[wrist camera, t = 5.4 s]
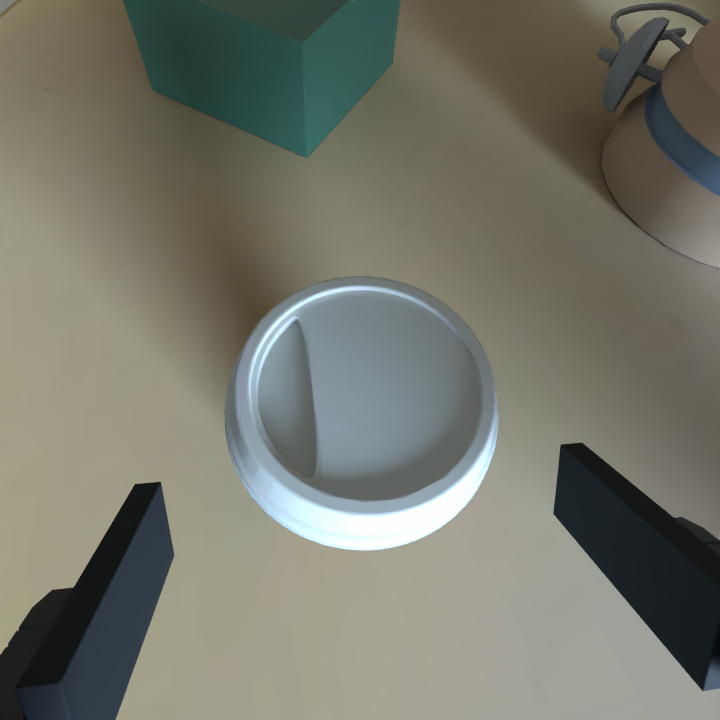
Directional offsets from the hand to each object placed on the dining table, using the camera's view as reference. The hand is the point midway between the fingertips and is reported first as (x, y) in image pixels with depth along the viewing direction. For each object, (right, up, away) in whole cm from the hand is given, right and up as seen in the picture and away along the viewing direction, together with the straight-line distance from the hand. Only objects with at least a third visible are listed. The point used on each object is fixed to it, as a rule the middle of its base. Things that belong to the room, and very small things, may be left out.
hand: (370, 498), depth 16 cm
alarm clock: (+25, +20, +22) cm, 39 cm away
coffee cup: (-1, -2, +9) cm, 9 cm away
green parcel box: (-7, +28, +23) cm, 37 cm away
